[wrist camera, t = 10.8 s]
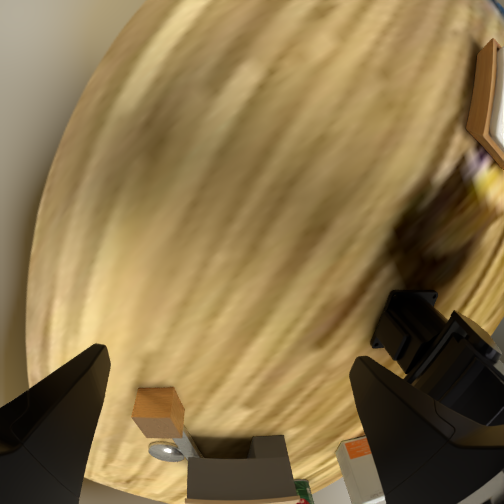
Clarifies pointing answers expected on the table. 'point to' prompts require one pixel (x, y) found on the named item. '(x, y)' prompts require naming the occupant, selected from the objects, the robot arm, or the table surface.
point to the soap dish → (489, 101)
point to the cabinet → (244, 476)
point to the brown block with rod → (163, 418)
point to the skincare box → (359, 471)
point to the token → (166, 451)
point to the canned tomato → (303, 491)
